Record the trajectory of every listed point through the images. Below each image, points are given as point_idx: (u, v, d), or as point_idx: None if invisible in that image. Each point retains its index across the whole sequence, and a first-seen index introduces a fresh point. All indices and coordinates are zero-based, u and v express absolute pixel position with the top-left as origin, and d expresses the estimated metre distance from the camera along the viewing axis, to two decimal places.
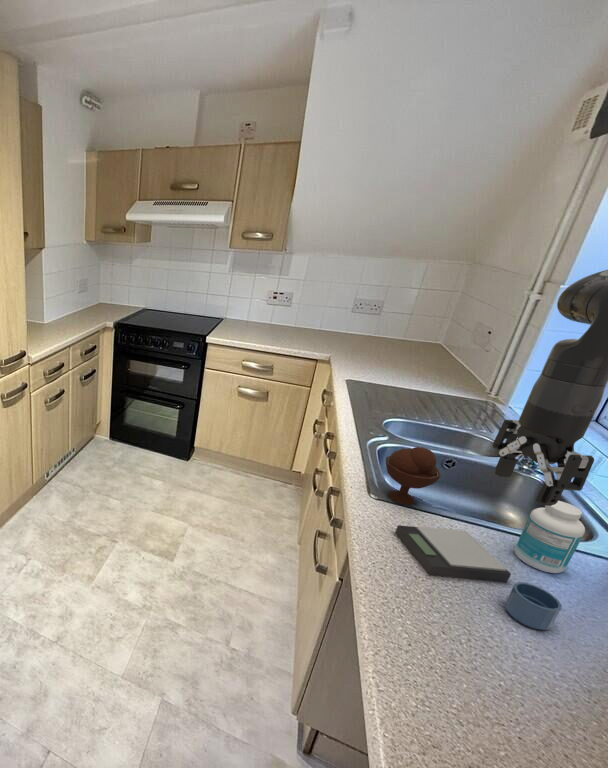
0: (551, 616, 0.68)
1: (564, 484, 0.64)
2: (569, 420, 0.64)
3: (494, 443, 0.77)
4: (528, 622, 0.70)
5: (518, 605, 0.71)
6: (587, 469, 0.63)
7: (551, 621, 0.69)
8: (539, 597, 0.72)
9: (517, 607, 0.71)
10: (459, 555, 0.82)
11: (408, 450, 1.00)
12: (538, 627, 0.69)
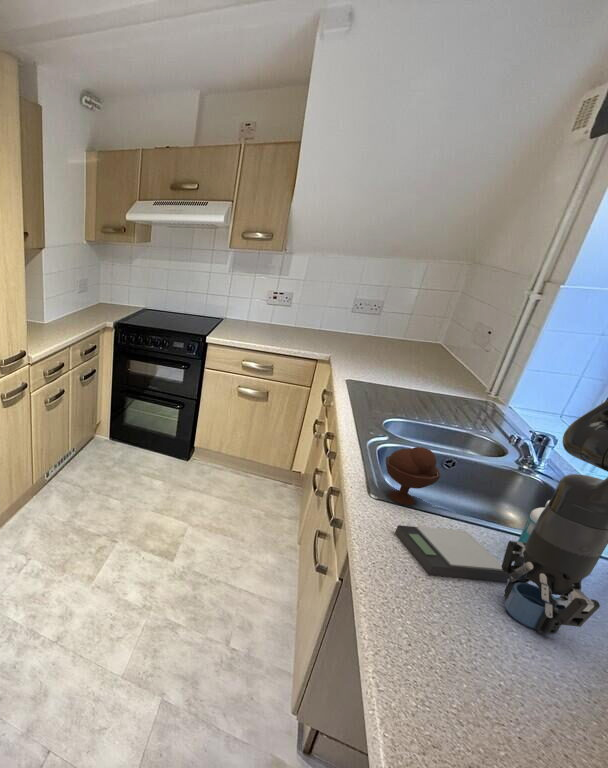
0: None
1: (563, 620, 0.65)
2: (577, 559, 0.64)
3: (503, 565, 0.76)
4: (528, 622, 0.70)
5: (518, 605, 0.71)
6: (590, 613, 0.63)
7: None
8: (539, 597, 0.72)
9: (517, 607, 0.71)
10: (459, 555, 0.82)
11: (408, 450, 1.00)
12: None
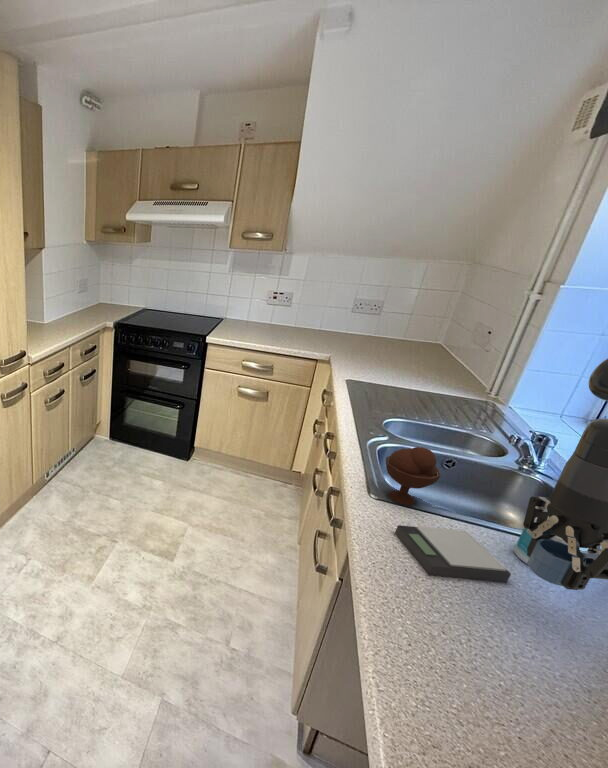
0: None
1: (593, 573, 0.61)
2: (606, 507, 0.60)
3: (525, 523, 0.72)
4: (553, 579, 0.66)
5: (542, 561, 0.67)
6: None
7: None
8: (564, 553, 0.69)
9: (541, 564, 0.67)
10: (459, 555, 0.82)
11: (408, 450, 1.00)
12: None
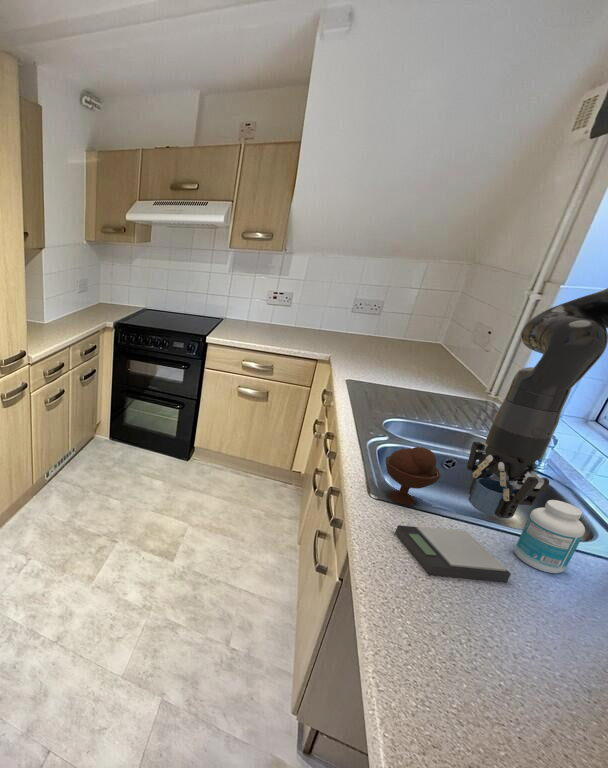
0: None
1: (518, 500, 0.71)
2: (529, 442, 0.70)
3: (468, 465, 0.82)
4: (488, 509, 0.76)
5: (480, 495, 0.77)
6: (541, 490, 0.69)
7: None
8: (499, 490, 0.79)
9: (479, 497, 0.77)
10: (459, 555, 0.82)
11: (408, 450, 1.00)
12: None
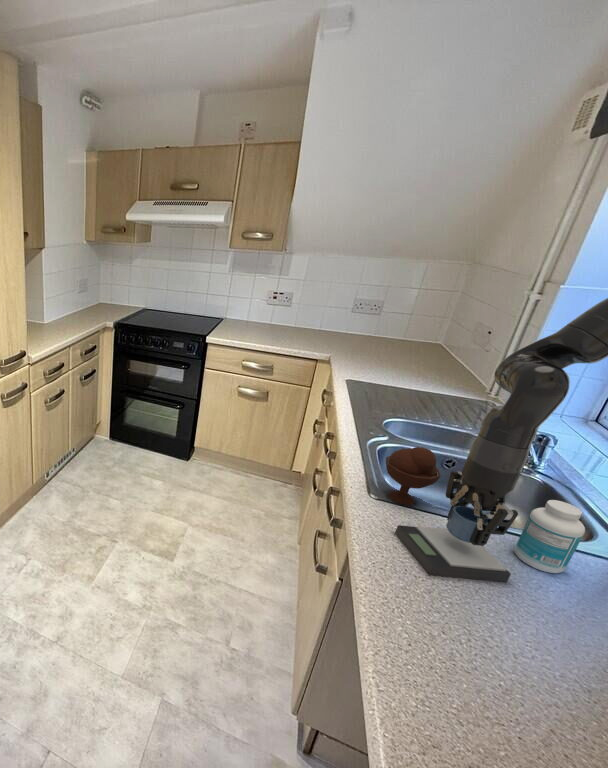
0: None
1: (490, 529, 0.76)
2: (500, 476, 0.75)
3: (446, 493, 0.87)
4: (464, 537, 0.81)
5: (456, 523, 0.82)
6: (511, 521, 0.74)
7: None
8: (475, 517, 0.83)
9: (455, 525, 0.82)
10: (459, 555, 0.82)
11: (408, 450, 1.00)
12: None
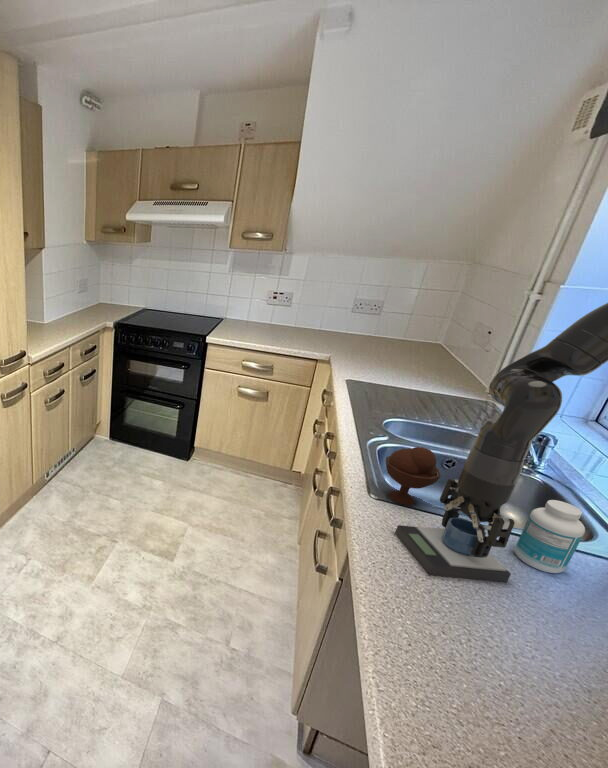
0: None
1: (491, 542, 0.76)
2: (495, 488, 0.76)
3: (441, 498, 0.89)
4: (459, 548, 0.82)
5: (451, 535, 0.83)
6: (509, 530, 0.75)
7: None
8: (470, 529, 0.84)
9: (450, 537, 0.83)
10: (459, 555, 0.82)
11: (408, 450, 1.00)
12: (467, 552, 0.82)
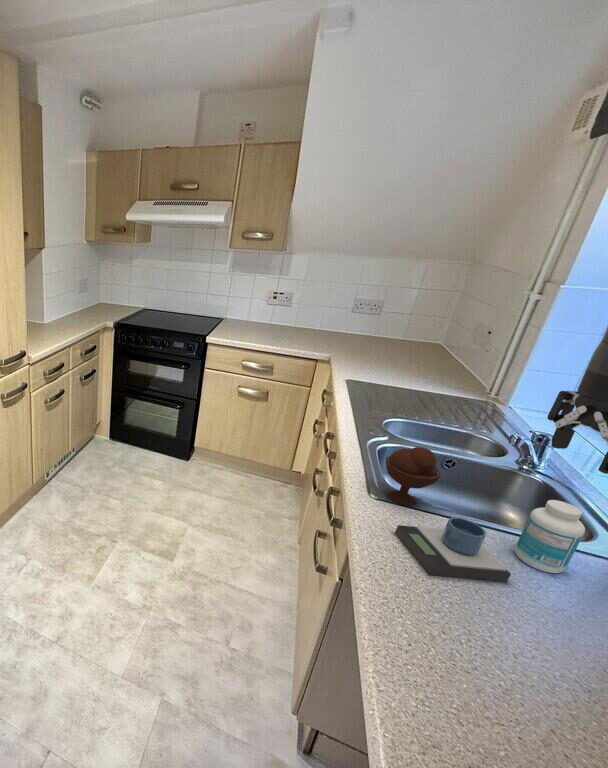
0: (477, 542, 0.81)
1: None
2: None
3: (549, 415, 0.77)
4: (459, 548, 0.82)
5: (451, 535, 0.83)
6: None
7: (477, 547, 0.81)
8: (470, 529, 0.84)
9: (450, 537, 0.83)
10: (459, 555, 0.82)
11: (408, 450, 1.00)
12: (467, 552, 0.82)
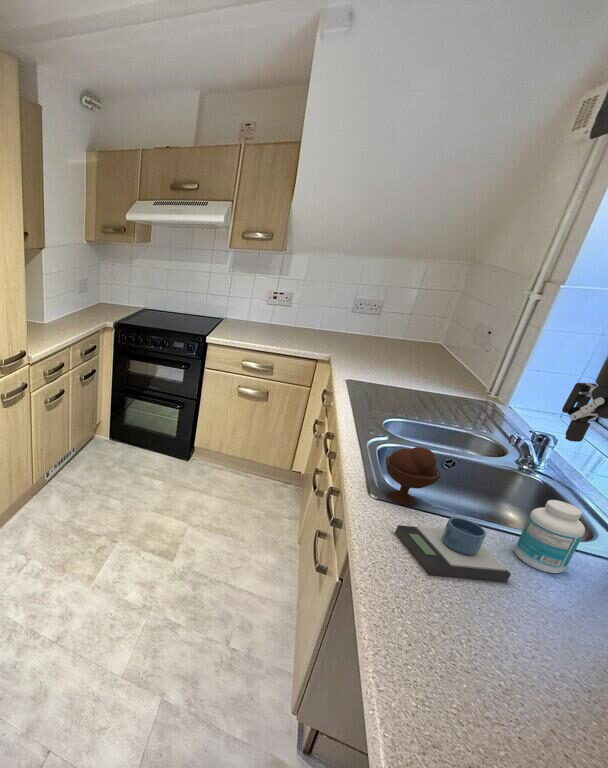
0: (477, 542, 0.81)
1: None
2: None
3: (564, 407, 0.75)
4: (459, 548, 0.82)
5: (451, 535, 0.83)
6: None
7: (477, 547, 0.81)
8: (470, 529, 0.84)
9: (450, 537, 0.83)
10: (459, 555, 0.82)
11: (408, 450, 1.00)
12: (467, 552, 0.82)
